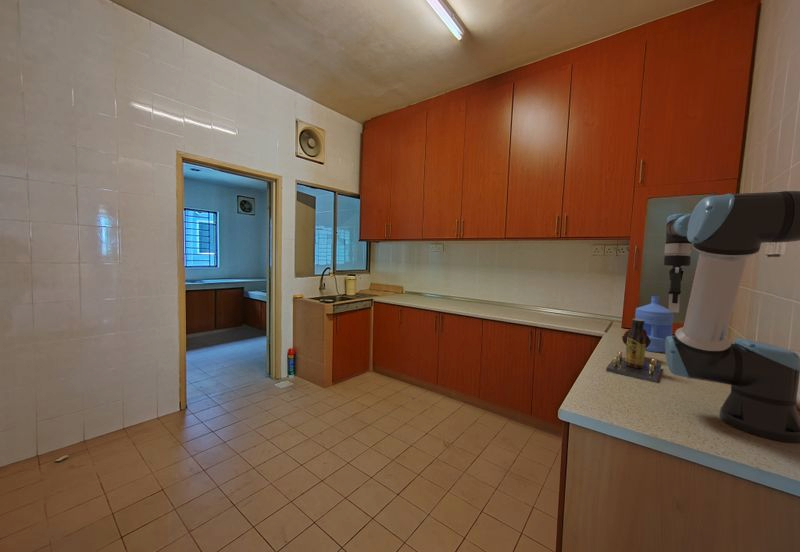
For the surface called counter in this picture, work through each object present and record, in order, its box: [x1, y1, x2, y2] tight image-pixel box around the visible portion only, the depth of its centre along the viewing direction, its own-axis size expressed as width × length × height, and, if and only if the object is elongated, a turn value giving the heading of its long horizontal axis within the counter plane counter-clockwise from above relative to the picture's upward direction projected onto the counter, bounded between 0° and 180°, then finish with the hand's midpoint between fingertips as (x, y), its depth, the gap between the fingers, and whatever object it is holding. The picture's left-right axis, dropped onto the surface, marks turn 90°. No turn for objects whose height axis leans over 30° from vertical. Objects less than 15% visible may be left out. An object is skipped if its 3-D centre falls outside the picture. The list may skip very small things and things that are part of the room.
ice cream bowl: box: [621, 328, 651, 348], centre depth 145 cm, size 11×11×15 cm
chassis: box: [605, 351, 662, 384], centre depth 129 cm, size 22×16×5 cm
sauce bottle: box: [624, 318, 646, 368], centre depth 128 cm, size 7×6×20 cm
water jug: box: [634, 295, 675, 354], centre depth 162 cm, size 16×16×28 cm
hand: (673, 310), depth 118 cm, fingers open, 13 cm apart
